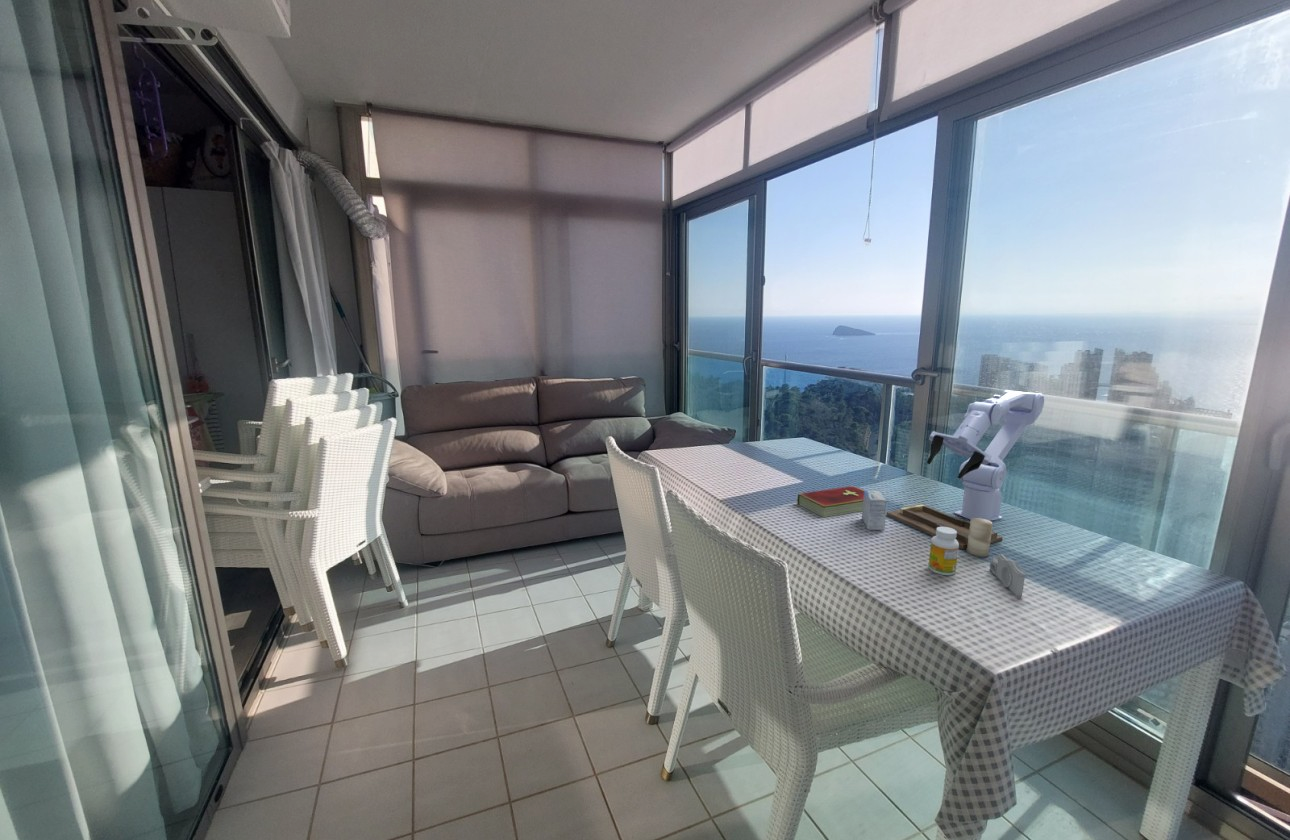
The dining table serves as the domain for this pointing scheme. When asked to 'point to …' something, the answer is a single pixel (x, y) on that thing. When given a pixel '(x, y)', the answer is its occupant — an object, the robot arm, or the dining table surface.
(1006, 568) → the grey toy camera
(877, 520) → the medicine box
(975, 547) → the ash peg
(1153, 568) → the dining table surface
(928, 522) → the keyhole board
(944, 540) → the supplement bottle
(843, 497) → the hardcover book
